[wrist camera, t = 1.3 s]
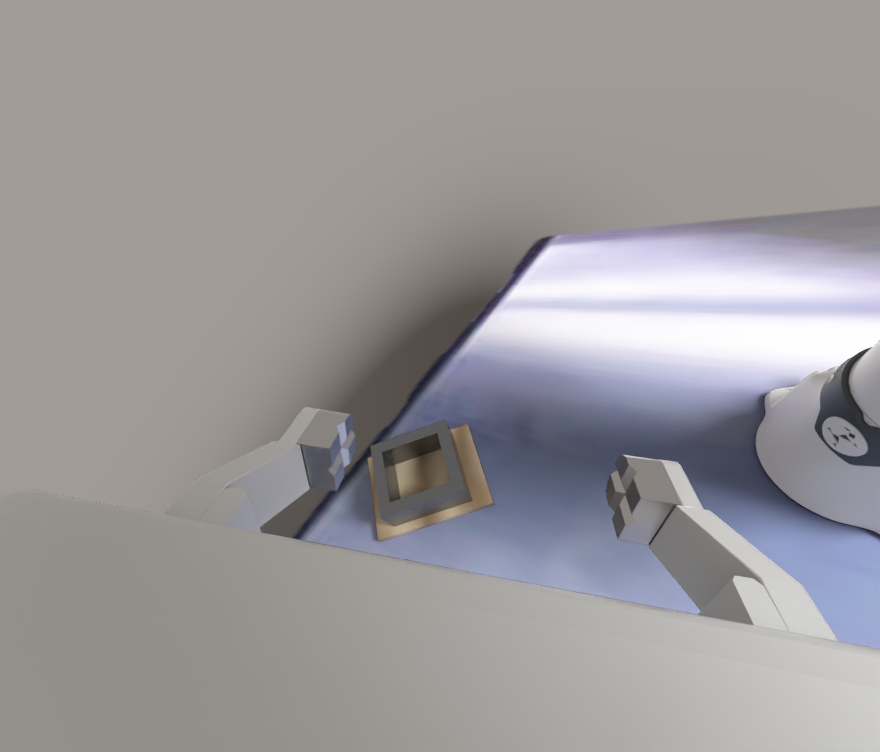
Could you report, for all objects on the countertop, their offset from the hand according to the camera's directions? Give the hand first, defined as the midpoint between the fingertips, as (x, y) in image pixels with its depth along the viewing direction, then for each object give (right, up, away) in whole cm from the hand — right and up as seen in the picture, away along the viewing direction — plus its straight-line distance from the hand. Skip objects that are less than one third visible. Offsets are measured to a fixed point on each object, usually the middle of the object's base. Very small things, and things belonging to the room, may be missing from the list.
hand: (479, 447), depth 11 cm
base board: (-3, -13, +41) cm, 43 cm away
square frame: (-3, -12, +40) cm, 42 cm away
